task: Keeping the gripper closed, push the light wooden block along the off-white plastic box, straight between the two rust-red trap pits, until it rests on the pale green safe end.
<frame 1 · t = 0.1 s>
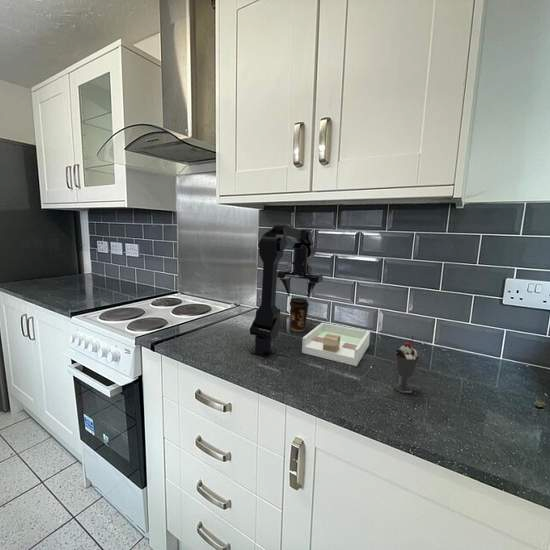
hand: (298, 296, 125), 15 cm above the worktop, tool pointing down, fingers open, 9 cm apart
block: (331, 349, 102), point 2 cm above the worktop, touching trap box
sundae: (403, 389, 82), on the worktop
coffee cup: (297, 329, 128), on the worktop
trap box: (336, 348, 108), on the worktop
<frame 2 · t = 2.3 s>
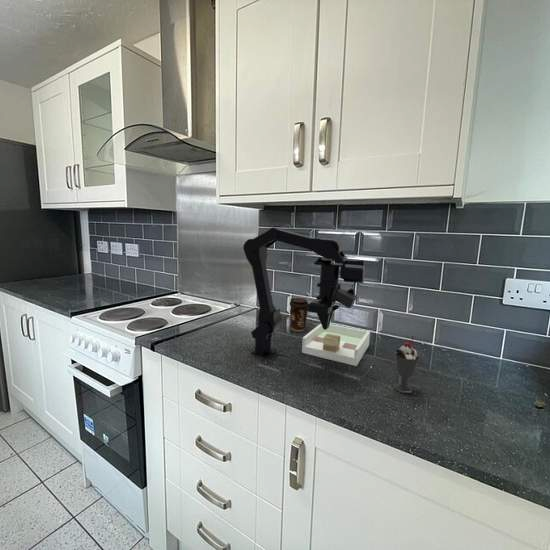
hand: (325, 328, 94), 12 cm above the worktop, tool pointing down, fingers closed
nothing on the worktop moved.
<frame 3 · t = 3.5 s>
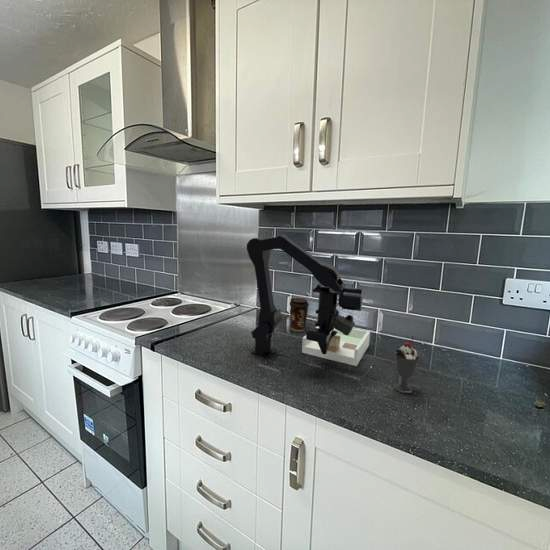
hand: (324, 353, 95), 4 cm above the worktop, tool pointing down, fingers closed
nothing on the worktop moved.
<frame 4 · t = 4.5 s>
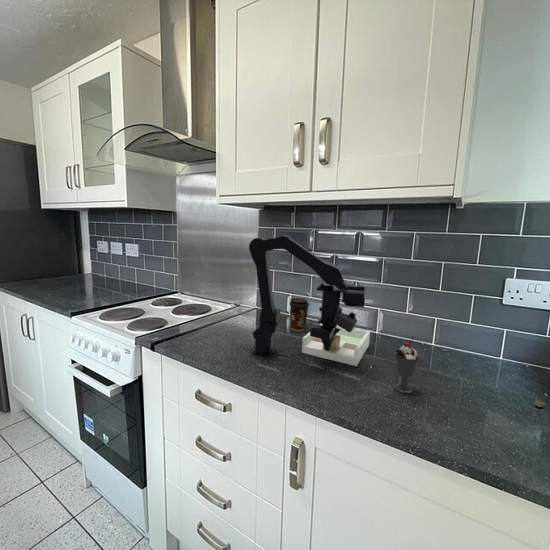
hand: (327, 350, 98), 4 cm above the worktop, tool pointing down, fingers closed
block: (331, 349, 102), point 3 cm above the worktop, touching gripper, trap box
everything else where it was.
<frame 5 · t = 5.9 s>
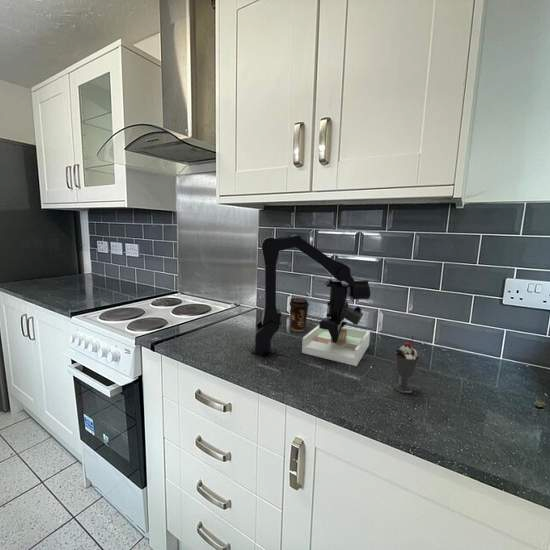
hand: (335, 342, 104), 4 cm above the worktop, tool pointing down, fingers closed
block: (338, 341, 108), point 3 cm above the worktop, touching gripper
everything else where it was.
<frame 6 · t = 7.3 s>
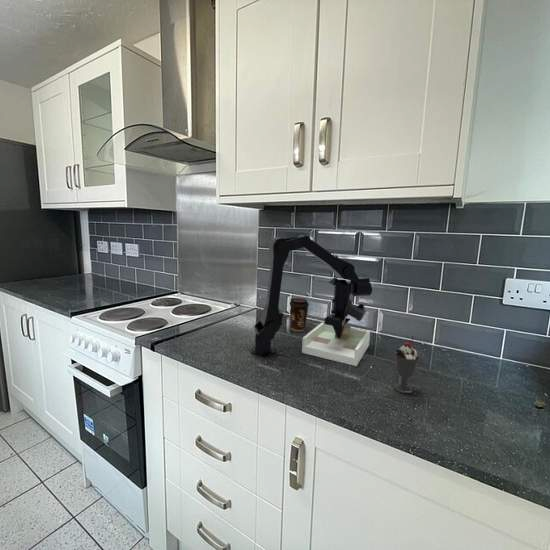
hand: (339, 338, 109), 4 cm above the worktop, tool pointing down, fingers closed
block: (342, 337, 113), point 2 cm above the worktop, touching gripper, trap box
everything else where it was.
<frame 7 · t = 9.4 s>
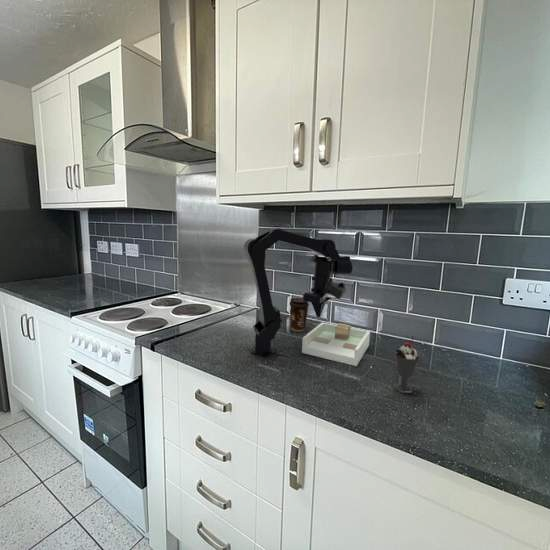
hand: (318, 317, 107), 11 cm above the worktop, tool pointing down, fingers closed
block: (342, 337, 113), point 2 cm above the worktop, touching trap box
everything else where it was.
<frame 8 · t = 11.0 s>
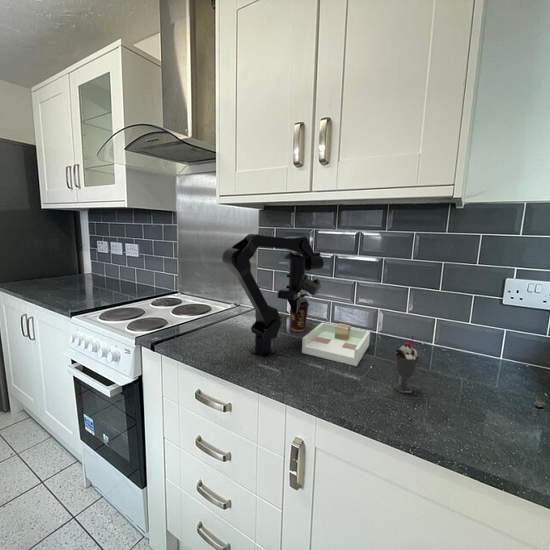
hand: (295, 313, 109), 12 cm above the worktop, tool pointing down, fingers closed
nothing on the worktop moved.
at the end: block 0.2 cm from the target spot on the trap box, point 2.5 cm above the trap box's base; block tilted 0° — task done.
